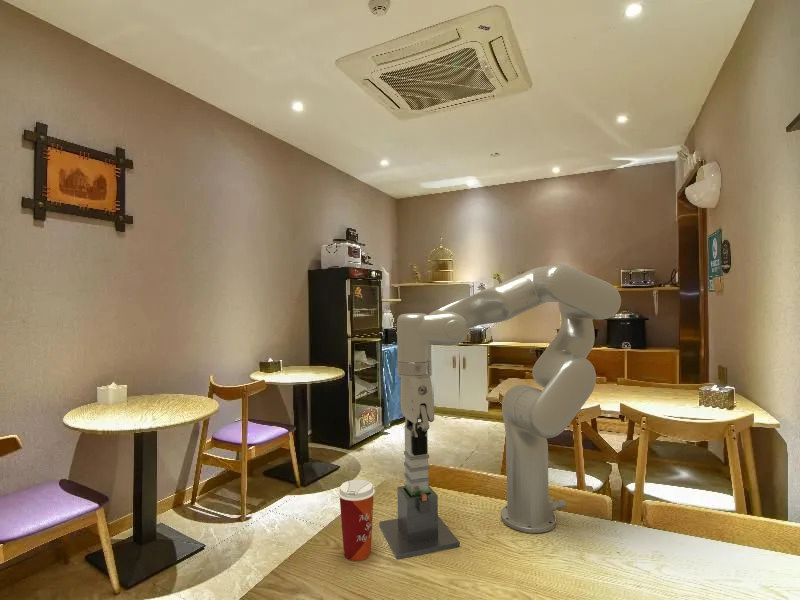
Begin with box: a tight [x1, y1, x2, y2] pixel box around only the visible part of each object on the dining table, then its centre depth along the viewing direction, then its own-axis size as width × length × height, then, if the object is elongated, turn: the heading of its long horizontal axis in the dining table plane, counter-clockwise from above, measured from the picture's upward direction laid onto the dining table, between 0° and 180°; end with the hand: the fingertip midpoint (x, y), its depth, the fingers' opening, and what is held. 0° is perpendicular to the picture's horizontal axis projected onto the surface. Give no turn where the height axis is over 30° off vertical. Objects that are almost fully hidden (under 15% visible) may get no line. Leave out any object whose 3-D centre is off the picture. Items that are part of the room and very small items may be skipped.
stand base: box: [378, 484, 461, 560], centre depth 97 cm, size 14×14×11 cm
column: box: [403, 425, 430, 497], centre depth 97 cm, size 4×4×18 cm
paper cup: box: [337, 479, 376, 562], centre depth 91 cm, size 8×8×14 cm
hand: (416, 450), depth 97 cm, fingers closed on column, 4 cm apart
